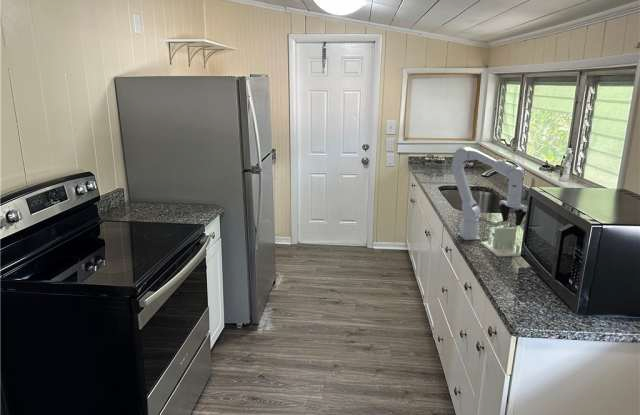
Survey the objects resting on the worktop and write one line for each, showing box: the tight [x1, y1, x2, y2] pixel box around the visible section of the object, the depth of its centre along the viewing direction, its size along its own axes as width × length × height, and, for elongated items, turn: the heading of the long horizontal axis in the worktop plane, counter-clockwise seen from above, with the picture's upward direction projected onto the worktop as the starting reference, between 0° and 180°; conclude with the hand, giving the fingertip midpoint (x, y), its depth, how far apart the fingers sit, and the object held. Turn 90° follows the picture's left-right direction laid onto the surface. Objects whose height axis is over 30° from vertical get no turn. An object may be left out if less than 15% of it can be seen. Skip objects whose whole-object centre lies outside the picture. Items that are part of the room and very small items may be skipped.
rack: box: [480, 235, 522, 257], centre depth 197 cm, size 17×13×4 cm
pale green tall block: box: [492, 226, 517, 248], centre depth 196 cm, size 2×9×9 cm, turn 94°
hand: (511, 223), depth 201 cm, fingers open, 7 cm apart
